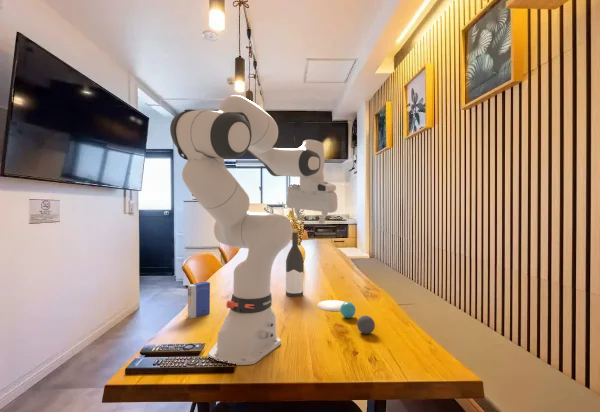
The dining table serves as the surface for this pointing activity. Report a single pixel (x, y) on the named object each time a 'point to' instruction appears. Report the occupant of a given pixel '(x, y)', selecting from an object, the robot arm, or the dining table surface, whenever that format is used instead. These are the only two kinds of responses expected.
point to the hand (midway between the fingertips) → (310, 221)
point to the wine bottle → (294, 269)
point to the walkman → (198, 299)
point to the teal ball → (347, 309)
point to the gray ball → (365, 324)
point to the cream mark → (331, 305)
